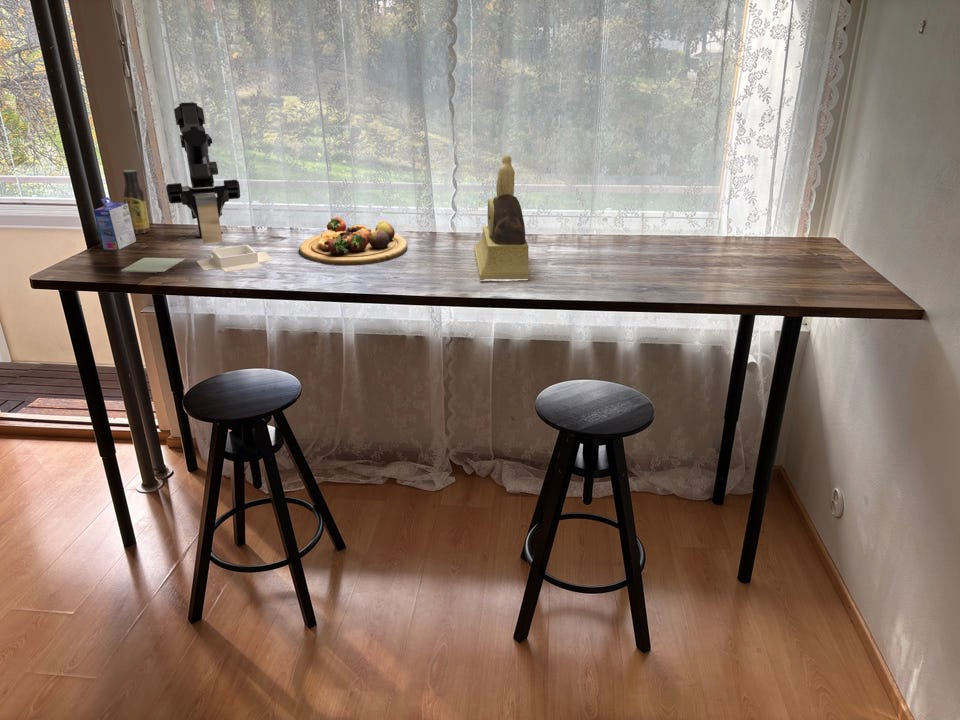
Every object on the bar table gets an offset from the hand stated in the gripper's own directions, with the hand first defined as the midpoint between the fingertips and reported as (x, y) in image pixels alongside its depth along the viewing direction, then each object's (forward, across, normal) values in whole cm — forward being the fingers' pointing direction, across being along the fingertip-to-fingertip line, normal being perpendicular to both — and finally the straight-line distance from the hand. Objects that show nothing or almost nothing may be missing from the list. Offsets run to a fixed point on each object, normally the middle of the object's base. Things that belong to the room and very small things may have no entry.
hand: (208, 217), depth 191 cm
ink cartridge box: (-13, -26, +33) cm, 44 cm away
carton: (+8, +5, +10) cm, 14 cm away
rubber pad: (+5, -16, +14) cm, 22 cm away
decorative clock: (+31, +73, -12) cm, 81 cm away
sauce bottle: (-24, -20, +43) cm, 53 cm away
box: (+4, 0, +6) cm, 7 cm away
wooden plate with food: (+9, +39, +11) cm, 42 cm away
